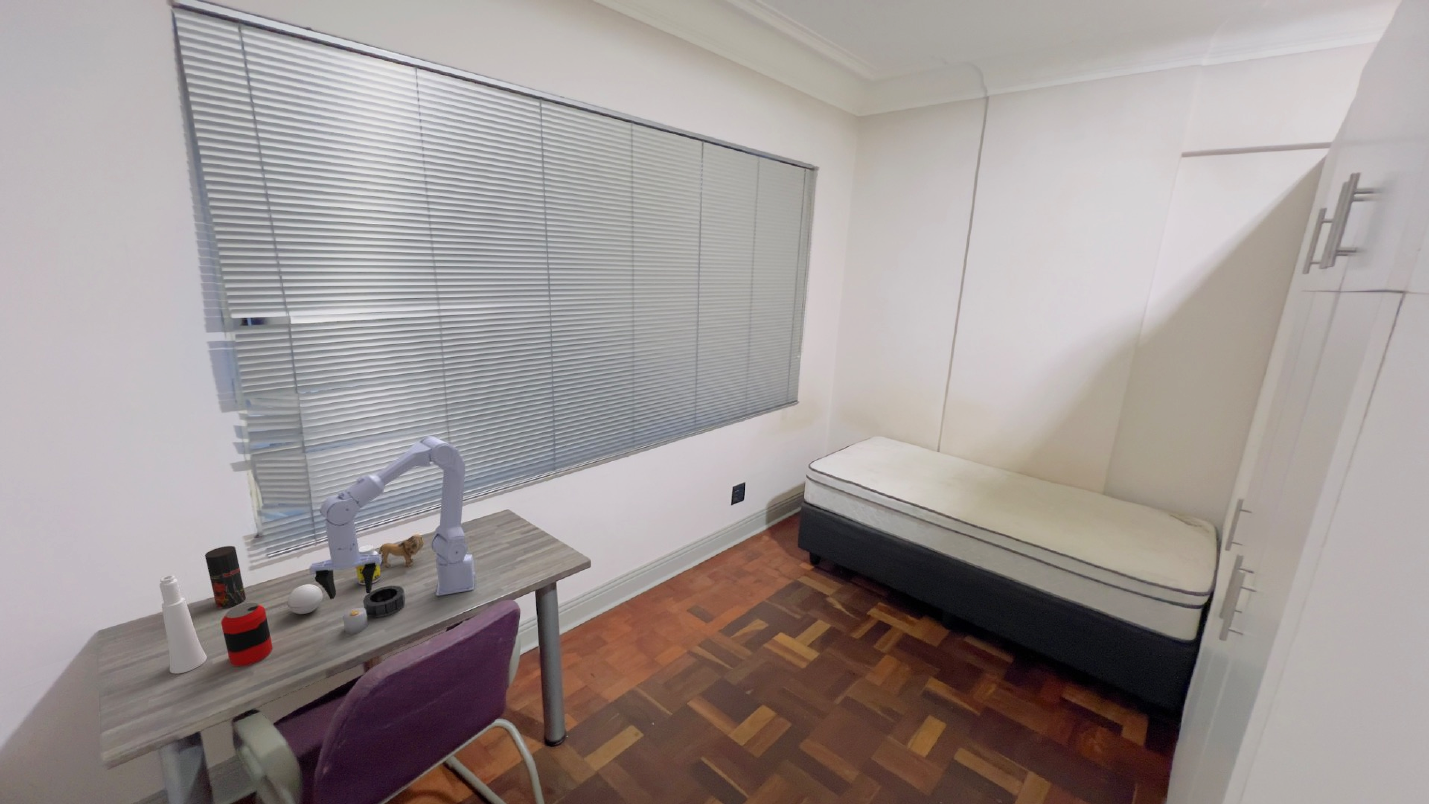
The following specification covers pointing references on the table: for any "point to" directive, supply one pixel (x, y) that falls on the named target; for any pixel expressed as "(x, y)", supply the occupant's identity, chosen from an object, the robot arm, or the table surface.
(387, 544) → the lion figurine
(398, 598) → the dark grey round ring
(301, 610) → the white egg
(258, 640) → the soda can
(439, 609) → the table surface
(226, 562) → the deodorant
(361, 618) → the boiled egg half
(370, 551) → the supplement bottle
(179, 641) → the cosmetic bottle
